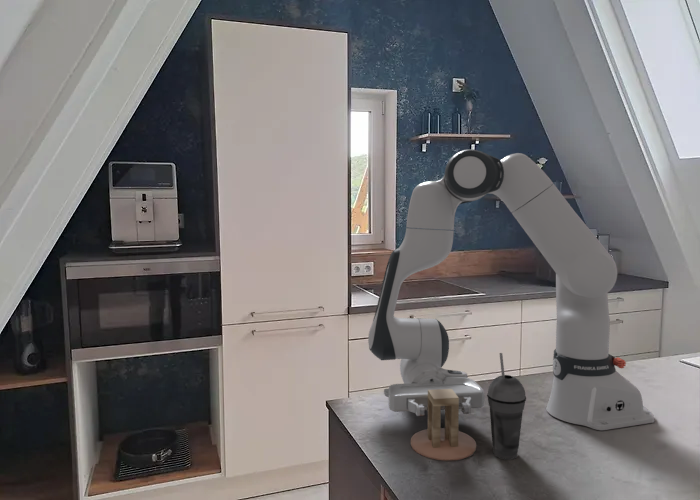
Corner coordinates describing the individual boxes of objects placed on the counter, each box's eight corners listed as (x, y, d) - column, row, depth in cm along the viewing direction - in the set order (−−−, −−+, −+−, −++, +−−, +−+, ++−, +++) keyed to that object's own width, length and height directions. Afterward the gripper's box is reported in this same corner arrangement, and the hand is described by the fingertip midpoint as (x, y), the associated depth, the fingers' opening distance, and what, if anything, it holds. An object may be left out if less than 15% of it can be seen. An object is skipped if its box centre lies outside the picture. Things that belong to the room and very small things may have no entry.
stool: (451, 435, 113) (451, 388, 112) (458, 446, 108) (458, 397, 107) (427, 436, 112) (427, 389, 111) (433, 448, 107) (433, 398, 106)
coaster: (464, 429, 117) (465, 426, 117) (485, 458, 104) (485, 455, 104) (405, 432, 116) (405, 429, 116) (418, 462, 103) (418, 459, 103)
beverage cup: (527, 464, 102) (529, 360, 100) (486, 461, 103) (488, 358, 101) (522, 446, 109) (525, 349, 107) (485, 443, 110) (486, 347, 108)
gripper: (382, 374, 121) (392, 398, 107) (472, 371, 123) (493, 393, 109) (382, 402, 121) (392, 428, 108) (472, 398, 123) (493, 424, 110)
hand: (444, 411), depth 108 cm, fingers open, 8 cm apart
